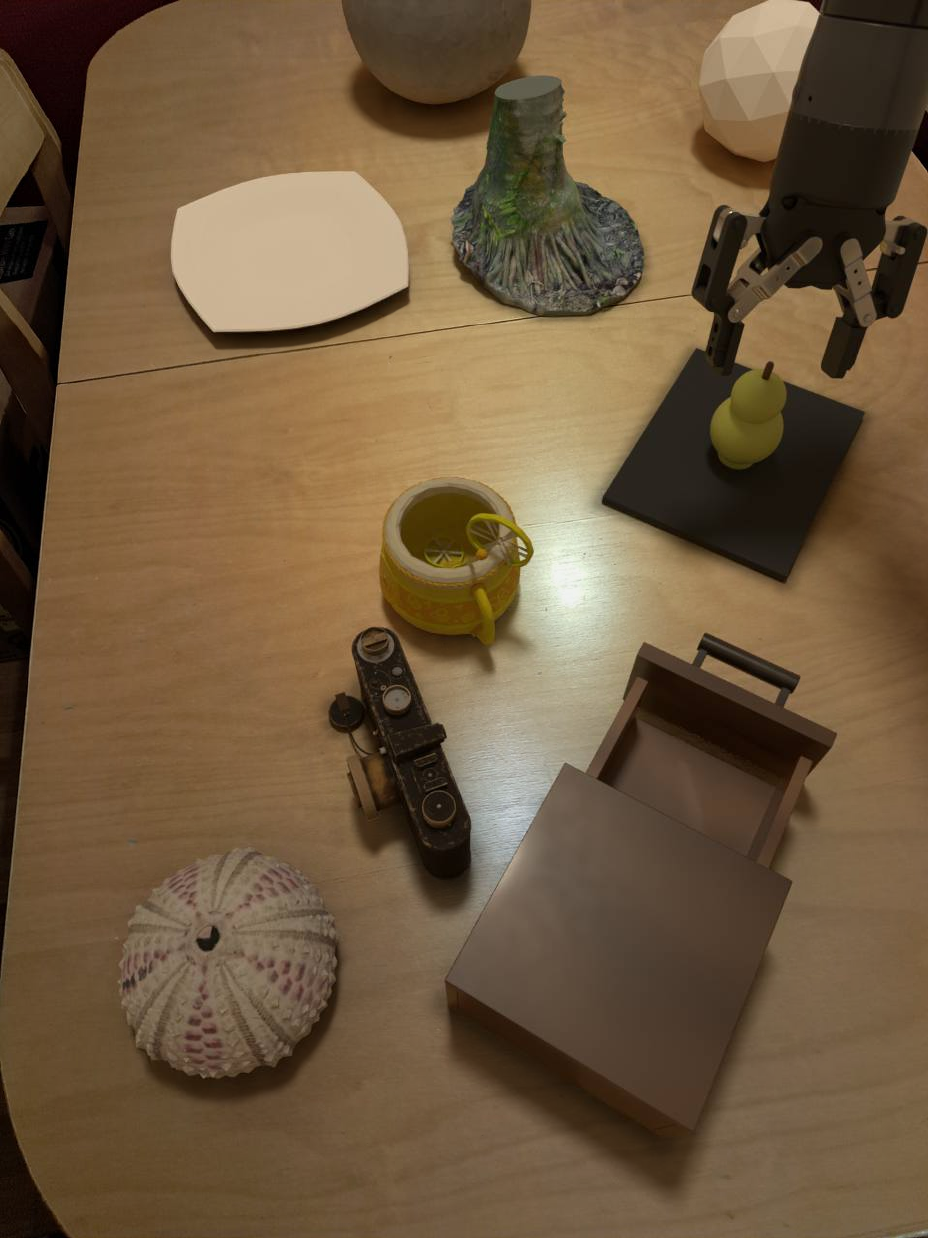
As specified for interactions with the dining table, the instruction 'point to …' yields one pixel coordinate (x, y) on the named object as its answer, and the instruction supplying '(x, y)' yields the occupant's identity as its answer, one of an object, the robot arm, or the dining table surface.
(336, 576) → the dining table surface
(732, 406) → the pear
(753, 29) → the geometric sphere
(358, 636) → the camera
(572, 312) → the tree stump
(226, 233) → the plate
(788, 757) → the drawer
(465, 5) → the bowl
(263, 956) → the sea urchin shell
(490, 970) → the cabinet
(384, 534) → the mug
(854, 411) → the mat
